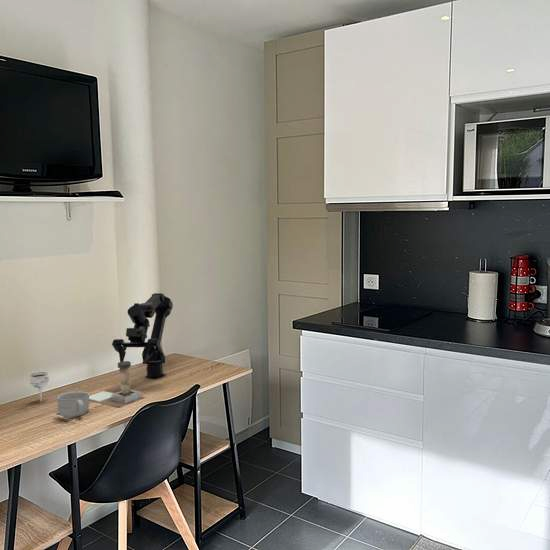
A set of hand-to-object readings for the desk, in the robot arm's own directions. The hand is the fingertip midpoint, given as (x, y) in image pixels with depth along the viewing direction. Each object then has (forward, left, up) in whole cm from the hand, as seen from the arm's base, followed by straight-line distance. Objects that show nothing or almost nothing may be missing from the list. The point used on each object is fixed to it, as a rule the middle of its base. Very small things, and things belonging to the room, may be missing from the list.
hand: (132, 363), depth 217 cm
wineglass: (+25, -24, -13) cm, 37 cm away
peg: (+7, +4, -12) cm, 14 cm away
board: (+8, -2, -13) cm, 16 cm away
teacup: (+27, 0, -13) cm, 30 cm away
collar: (+7, +4, -12) cm, 14 cm away
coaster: (+10, -7, -12) cm, 17 cm away
